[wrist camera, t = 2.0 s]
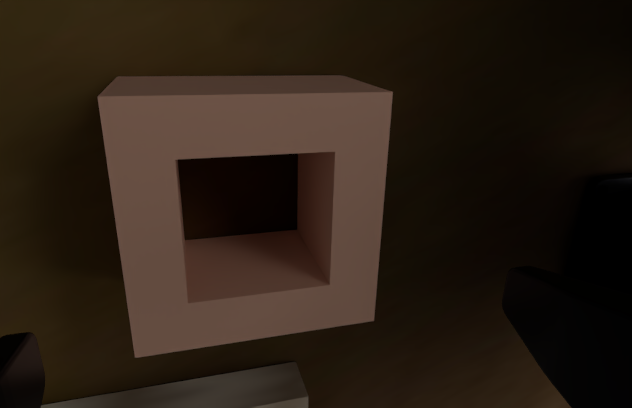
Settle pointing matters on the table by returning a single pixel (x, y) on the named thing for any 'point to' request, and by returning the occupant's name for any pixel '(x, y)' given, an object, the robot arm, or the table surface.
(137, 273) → the collar
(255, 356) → the table surface
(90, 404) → the post stand
